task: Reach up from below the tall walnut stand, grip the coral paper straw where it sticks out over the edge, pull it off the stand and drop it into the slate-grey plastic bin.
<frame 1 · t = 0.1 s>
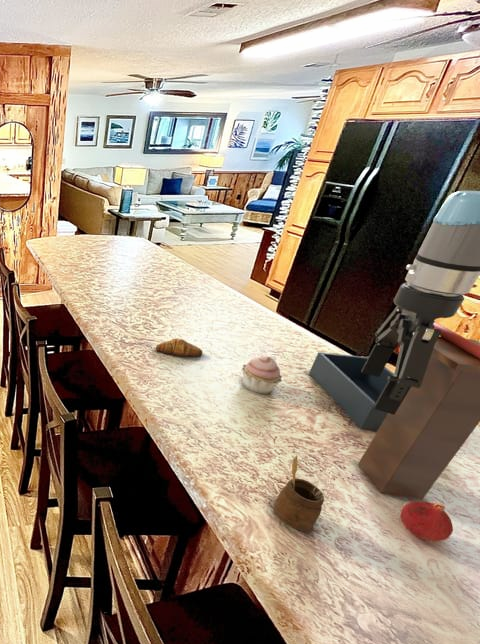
hand: (376, 391, 74), 18 cm above the countertop, tool pointing down, fingers open, 13 cm apart
stand: (384, 478, 77), on the countertop
croissant: (177, 354, 118), on the countertop
cupcake: (255, 388, 104), on the countertop
utensil holder: (290, 517, 69), on the countertop
straw: (446, 339, 68), point 30 cm above the countertop, touching stand
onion: (414, 535, 67), on the countertop
bin: (360, 402, 99), on the countertop
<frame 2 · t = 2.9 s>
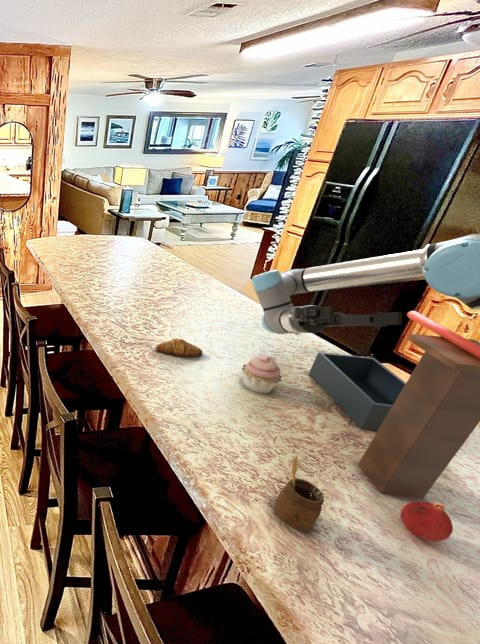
hand: (365, 314, 86), 26 cm above the countertop, tool pointing upward, fingers open, 13 cm apart
nothing on the countertop moved.
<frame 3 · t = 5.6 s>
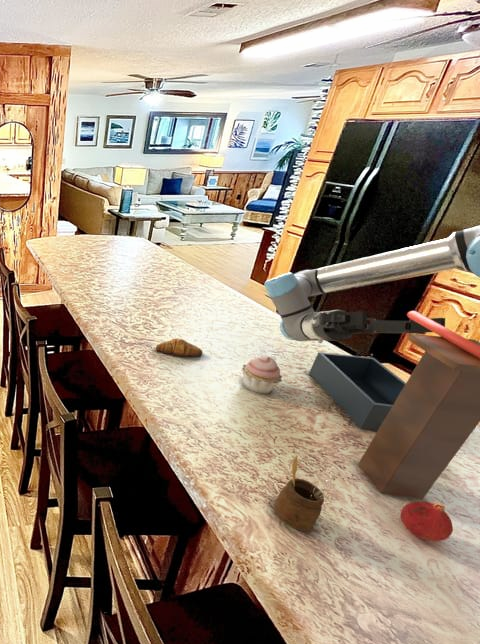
hand: (403, 321, 76), 29 cm above the countertop, tool pointing upward, fingers open, 13 cm apart
nothing on the countertop moved.
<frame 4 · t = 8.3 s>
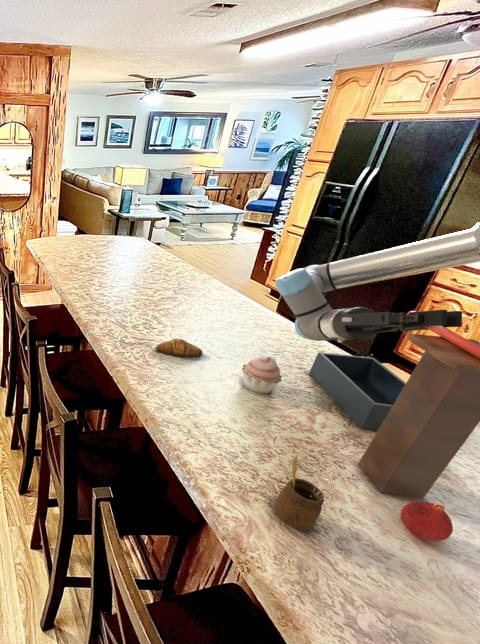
hand: (451, 318, 67), 34 cm above the countertop, tool pointing upward, fingers closed on straw, 1 cm apart
straw: (446, 339, 68), point 30 cm above the countertop, touching gripper, stand
everything else where it was.
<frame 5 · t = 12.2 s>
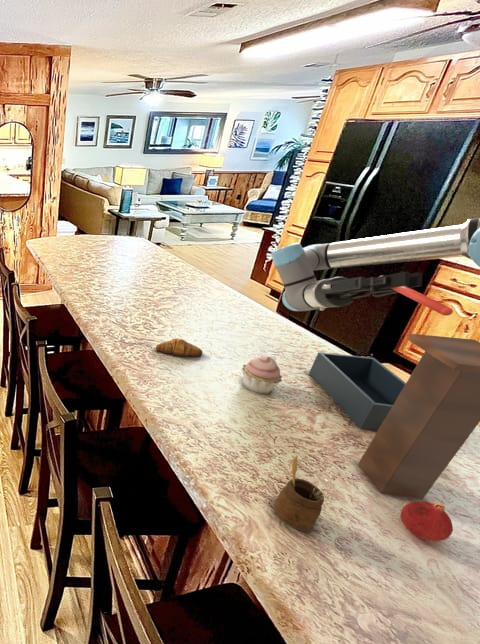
hand: (413, 278, 77), 36 cm above the countertop, tool pointing upward, fingers closed on straw, 1 cm apart
straw: (409, 297, 78), point 33 cm above the countertop, touching gripper
everything else where it was.
when the fingers open (25 cm above the countertop, at t = 16.2 s): straw drops 21 cm, resting on bin.
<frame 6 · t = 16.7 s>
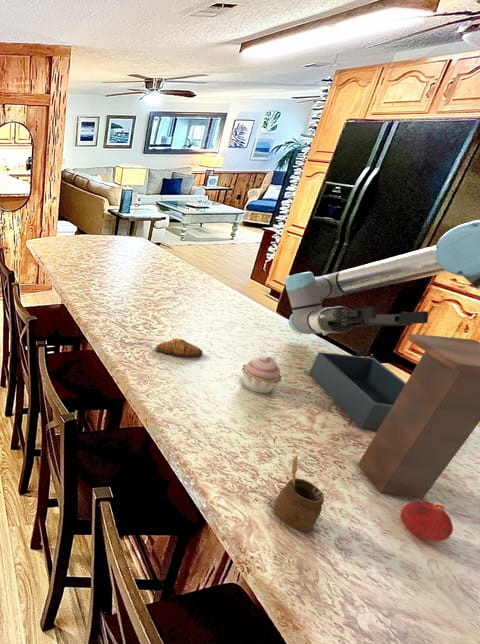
hand: (399, 314, 90), 24 cm above the countertop, tool pointing upward, fingers open, 10 cm apart
straw: (361, 400, 99), resting on bin
everything else where it was.
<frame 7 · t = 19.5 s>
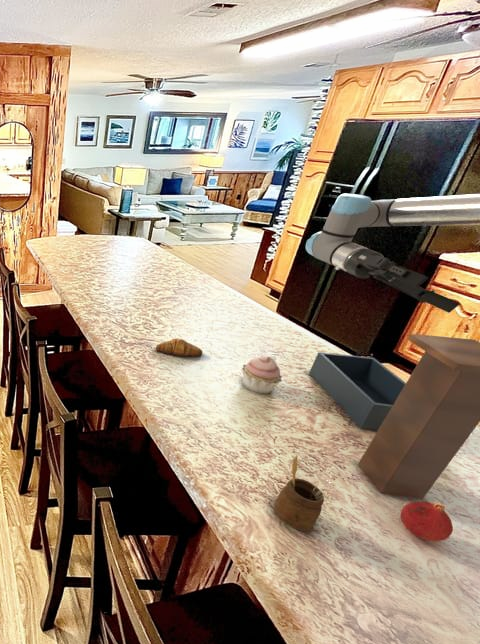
hand: (438, 295, 88), 29 cm above the countertop, tool horizontal, fingers open, 13 cm apart
nothing on the countertop moved.
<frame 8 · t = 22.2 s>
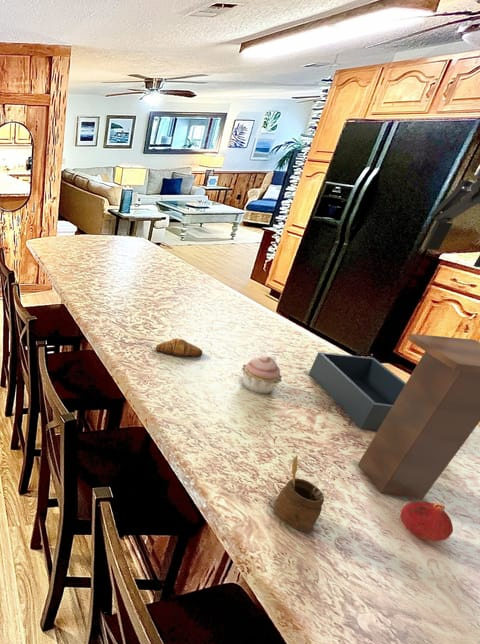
hand: (454, 257, 89), 37 cm above the countertop, tool pointing down, fingers open, 13 cm apart
nothing on the countertop moved.
at the end: straw inside the target area in the bin (0.3 cm from its centre), point 0.5 cm above the bin's base; the gripper is holding nothing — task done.
